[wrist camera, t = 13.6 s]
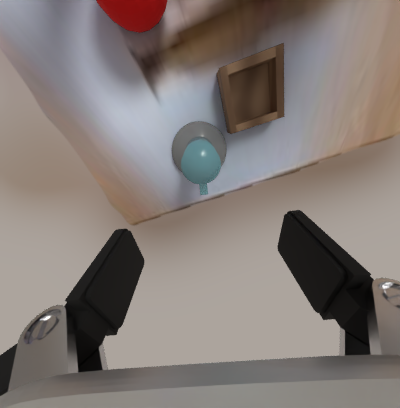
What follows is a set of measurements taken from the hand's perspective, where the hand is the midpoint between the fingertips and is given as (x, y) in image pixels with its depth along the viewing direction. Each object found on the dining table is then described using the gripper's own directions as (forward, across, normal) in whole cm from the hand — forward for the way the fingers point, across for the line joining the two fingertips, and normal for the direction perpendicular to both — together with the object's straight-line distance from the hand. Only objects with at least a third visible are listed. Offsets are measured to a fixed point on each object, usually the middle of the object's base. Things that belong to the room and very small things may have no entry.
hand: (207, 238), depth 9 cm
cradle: (+28, -10, -9) cm, 31 cm away
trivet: (+28, 0, 0) cm, 28 cm away
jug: (+27, 0, +2) cm, 27 cm away
